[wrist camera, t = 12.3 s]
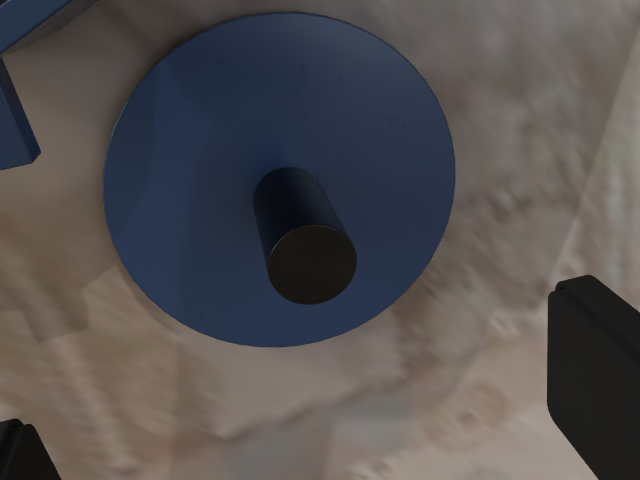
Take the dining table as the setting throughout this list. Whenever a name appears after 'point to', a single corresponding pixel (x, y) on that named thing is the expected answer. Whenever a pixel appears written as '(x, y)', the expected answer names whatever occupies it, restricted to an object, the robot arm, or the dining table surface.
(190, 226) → the lid
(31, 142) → the pot
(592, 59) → the dining table surface
